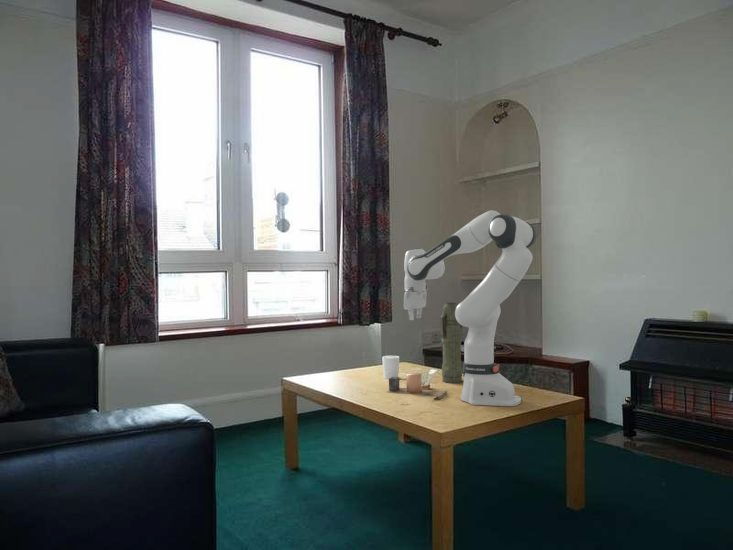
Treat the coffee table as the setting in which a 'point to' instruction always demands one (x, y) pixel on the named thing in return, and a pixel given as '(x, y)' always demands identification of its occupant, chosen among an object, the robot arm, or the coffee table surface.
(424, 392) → the walnut strip
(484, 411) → the coffee table surface
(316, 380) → the coffee table surface
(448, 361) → the thermos
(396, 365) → the white cup
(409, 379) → the terracotta upright block
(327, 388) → the coffee table surface
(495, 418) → the coffee table surface
